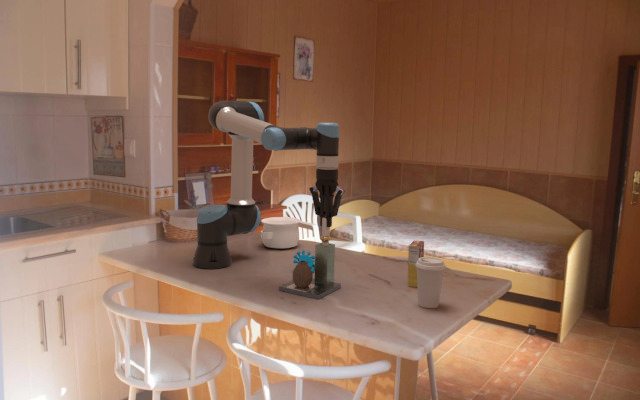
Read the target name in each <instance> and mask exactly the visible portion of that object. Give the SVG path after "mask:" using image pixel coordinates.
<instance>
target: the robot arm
mask: <svg viewBox="0 0 640 400" xmlns="http://www.w3.org/2000/svg"><path fill="white" fill-rule="evenodd" d="M208 110H209V111H208V116H207V117H208V122H209V124H210V125H211V127H212V128H213V129H215V130H217V131H220V132H223V133H228V134H227V135H228V136H229V137H230V139H231V161H230V163H231V165H230V166H231V167H230V169H231V171H230V173H231V175H230V198H229V199H227V201H226V204H221V203H220V204H219V203H216V204H208V205H205V206H202V207H200V208H199V209H198V210H197V215H196V216H197V217H196V223H197V225H196V226H197V228H196V229H197V233H196V235H197V237H196V238H197V239H196V240H197V244H196V249H195V252H194V256H193V259H192V265H193V266H194V267H196V268H199V269H204V270H205V269H207V270H208V269H209V270H216V269H222V268H226V267H229V266H231V265H232V263H233V261H232V259H233V258H232V255H231V253H230V250H229V247H228V237H231V236H237V235H245V234H246V235H247V234H249V233H253V232H255V231H256V230H257V229H258V228H259V226H260V224H261V220H262V215H261V214H262V213H261V211H260V208H259V207H258V205H256V201H255V200H254V198H253V173H254V171H253V168H254V167H253V166H254V163H253V162H254V142H256V143H259V144H261V145H262V146H263V147H264V149H265V150H266V151H275V152H277V151H287V150H288V151H291V150H293V151H294V150H297V151H298V150H312V151H314V150H315V151H316V162H315V163H316V166H315V167H317V168H316V170H315V178H316V181H315V183H314V185H313V186H312V187H311V186H310V187H309V192H310V194H311V198H312V203H313V208H314V209H313V210H314V213H315V215H316V216H319V219H320V222H319V225H320V227H321V236H323V237H327V236H330V230H331V229H330V228H331V227H332V226H333V225H332V224H333V223H332V222H333V217H337V216H338V212H339V208H340V205H341V202H342V197H343V195H344V194H345V190H344V189H342V188H340V187H339V182H338V180H339V169H338V168H339V150H340V149H339V148H340V145H339V144H340V137H341V136H340V127H339V124H338V122H337V123H336V122H318V123H317V125H316V127H308V126H307V127H306V126H303V127H302V126H301V127H282V126H278V125H275V124H272V123H270V122H268V121H267V122H266V121H265V115H264V112H263V109H262V108H261V106H260V105H259V104H258V103H257V102H253V101H247V100H219V101H217V102H215V103H213V105H212V106H210V108H209V109H208ZM334 197H335V198H334Z"/></svg>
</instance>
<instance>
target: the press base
mask: <svg viewBox="0 0 640 400" xmlns="http://www.w3.org/2000/svg"><path fill="white" fill-rule="evenodd" d="M314 250H315V252H314V256H315V259H314V260H315V269H314V270H315V271H314V277H313V278H312V282H311V284H310V285H309V286H308V287H306V288H299V287H297V286H296V285H295V284H294V282H293V279H292V280H290V281H288V282H285V283H283V284H282V285H279V286H278V291H280V292H283V291H284V293H288V294H293V295H297V296H301V295H302V296H303V297H306V296H307V298H310V297H312V298H311V299H315V298H316V299H315V300H320V299H323V298H325V297H326V296H328V295H330V294H332V293H334V292H335V291H337V290H340V289H341V286H342V285H341V284H342V283H339V282H335V258H336V254H335V253H336V243H330V242H329V245H328V246H324V245H322V242H319V243H316V244H315V249H314Z"/></svg>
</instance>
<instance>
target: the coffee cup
mask: <svg viewBox="0 0 640 400" xmlns="http://www.w3.org/2000/svg"><path fill="white" fill-rule="evenodd" d="M415 266H416V267H417V282H418V288H417V305H418V306H419V307H422V308H425V309H436V308H438V307H439V304H440V298H441V291H442V285H443V277H444V272H445V269H447V267H446V264H445V262H444V260H443V259H442V258H439V257H434V256H424V257H421V258H419V259H418V261H417V262H416V265H415Z"/></svg>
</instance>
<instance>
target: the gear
mask: <svg viewBox="0 0 640 400" xmlns="http://www.w3.org/2000/svg"><path fill="white" fill-rule="evenodd" d="M311 254H312V253H311V252H310V251H308V252H307V254H306V250H304V249H303V250H302V251H297V252H296V254H295V255H294V256H293V258H294V260H293V261H292V262H293V264H295V267H296V266H297V265H298V263H299V261H306V262H307V264H308V266H309V267H310V268H311V270H312V273H315V254H313V255H312V256H311Z"/></svg>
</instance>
